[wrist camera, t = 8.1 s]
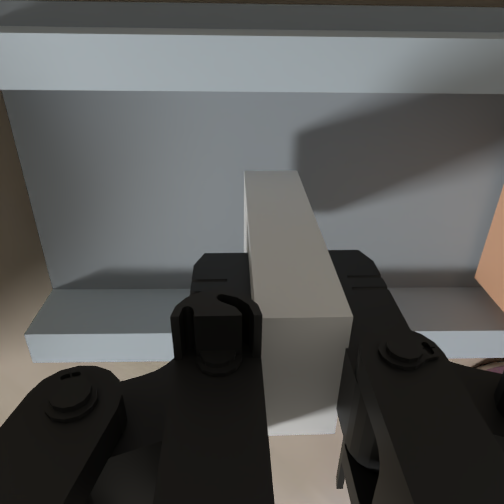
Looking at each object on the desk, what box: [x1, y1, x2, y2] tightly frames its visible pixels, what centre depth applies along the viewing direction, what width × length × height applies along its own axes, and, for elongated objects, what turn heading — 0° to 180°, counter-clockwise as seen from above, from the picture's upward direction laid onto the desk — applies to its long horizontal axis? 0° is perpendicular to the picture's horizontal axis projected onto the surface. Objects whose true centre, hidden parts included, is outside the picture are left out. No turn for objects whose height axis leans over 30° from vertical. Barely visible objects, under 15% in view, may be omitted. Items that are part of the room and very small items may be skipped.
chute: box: [0, 0, 504, 363], centre depth 14 cm, size 16×11×4 cm
